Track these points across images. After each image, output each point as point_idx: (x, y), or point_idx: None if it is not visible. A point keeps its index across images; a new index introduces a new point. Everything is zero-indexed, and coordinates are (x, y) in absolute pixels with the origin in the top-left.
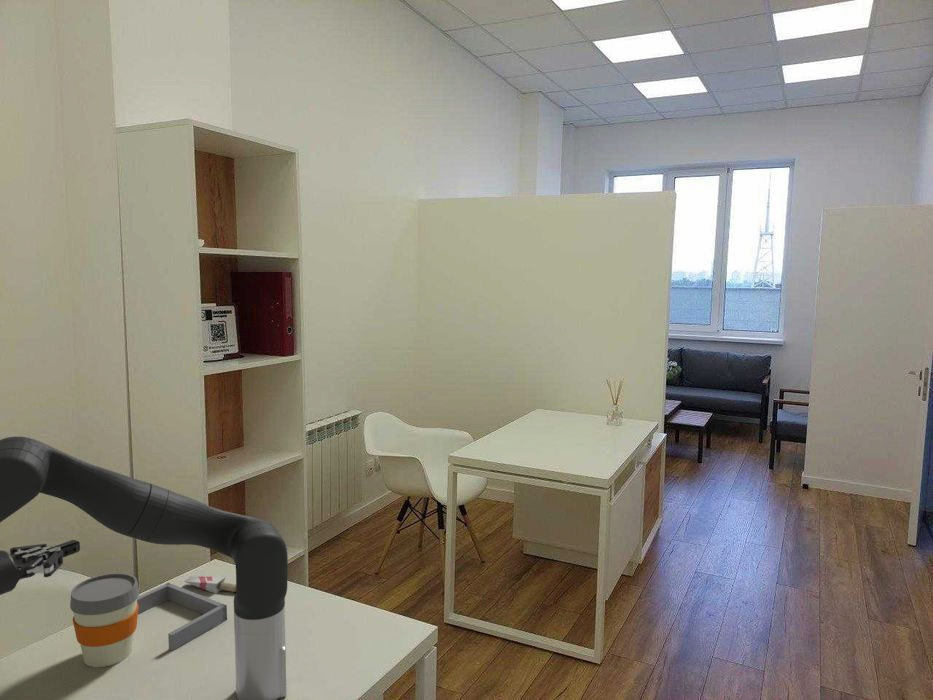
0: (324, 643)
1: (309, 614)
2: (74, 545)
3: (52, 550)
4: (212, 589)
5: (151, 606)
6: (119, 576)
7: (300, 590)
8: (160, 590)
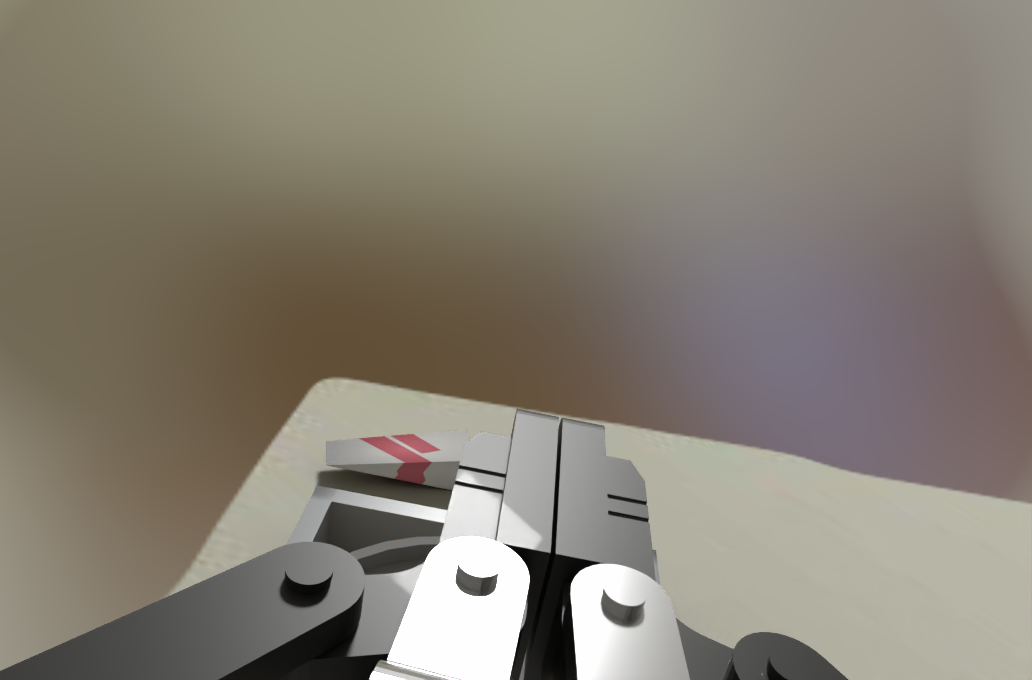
0: (1016, 622)
1: (824, 522)
2: (635, 486)
3: (654, 671)
4: (452, 480)
5: None
6: (405, 559)
7: (684, 443)
8: (321, 525)
